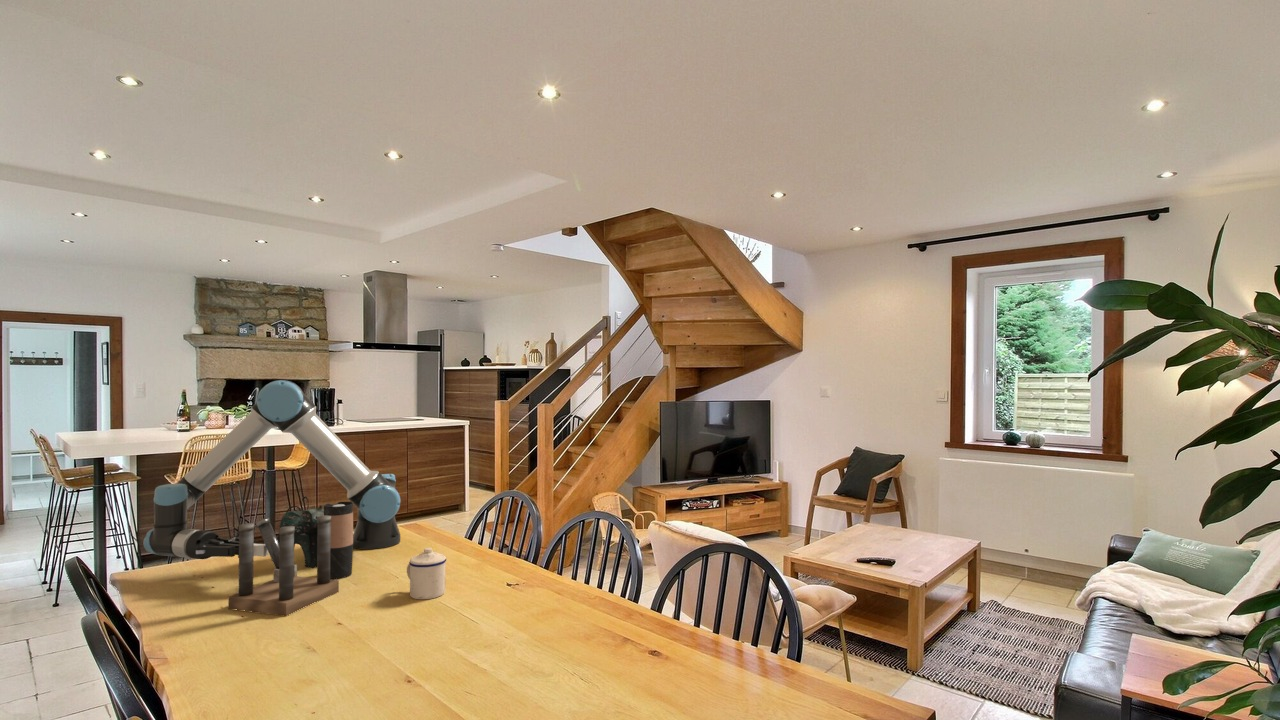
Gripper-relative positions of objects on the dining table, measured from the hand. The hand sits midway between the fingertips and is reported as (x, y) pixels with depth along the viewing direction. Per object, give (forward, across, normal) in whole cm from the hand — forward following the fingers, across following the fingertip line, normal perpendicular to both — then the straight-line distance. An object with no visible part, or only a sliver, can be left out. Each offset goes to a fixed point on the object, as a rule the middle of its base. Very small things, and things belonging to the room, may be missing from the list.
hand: (266, 550), depth 167 cm
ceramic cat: (-9, -21, -10) cm, 25 cm away
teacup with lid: (+42, -8, -10) cm, 44 cm away
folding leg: (+6, 0, -5) cm, 8 cm away
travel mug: (+11, -14, -10) cm, 20 cm away
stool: (+12, +6, -10) cm, 17 cm away
